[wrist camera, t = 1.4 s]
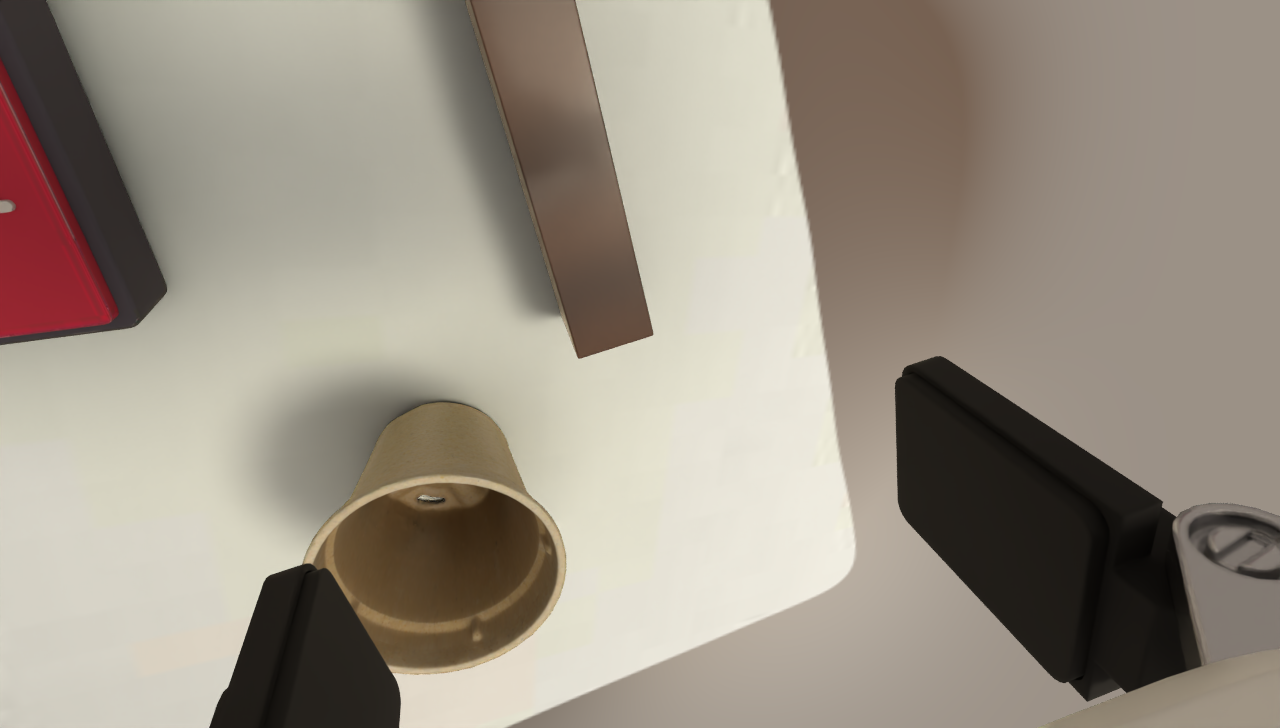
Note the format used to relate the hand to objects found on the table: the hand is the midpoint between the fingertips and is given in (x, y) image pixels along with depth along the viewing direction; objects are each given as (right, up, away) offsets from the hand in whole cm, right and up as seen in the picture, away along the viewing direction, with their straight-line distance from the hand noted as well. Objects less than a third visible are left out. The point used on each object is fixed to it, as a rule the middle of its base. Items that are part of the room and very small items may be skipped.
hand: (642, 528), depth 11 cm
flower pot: (-10, -2, +22) cm, 24 cm away
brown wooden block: (-4, +12, +16) cm, 21 cm away
